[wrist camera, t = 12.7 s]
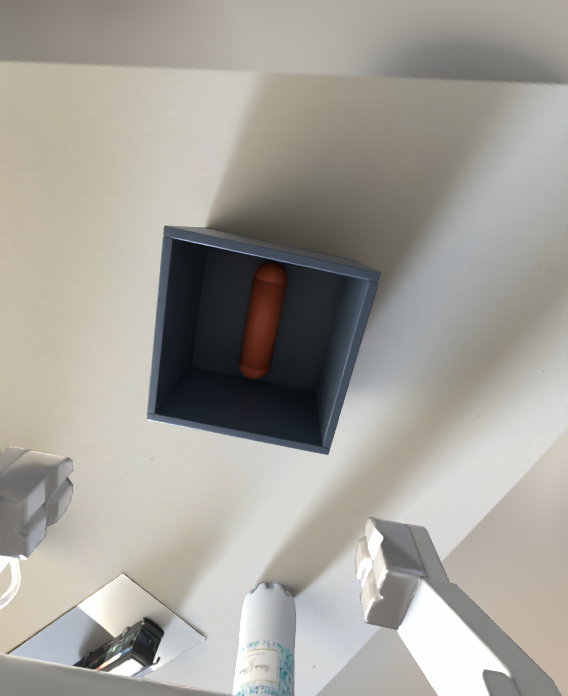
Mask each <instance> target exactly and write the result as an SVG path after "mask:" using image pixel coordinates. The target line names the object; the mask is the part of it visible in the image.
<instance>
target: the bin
mask: <svg viewBox="0 0 568 696" xmlns="http://www.w3.org/2000/svg"><path fill="white" fill-rule="evenodd" d="M163 235H164V237H163V244H162V255H161V266H160V277H159V287H158V298H157V309H156V320H155V331H154V342H153V353H152V363H151V374H150V385H149V396H148V407H147V418H146V419H147V420H153V421H158V422H163V423H168V424H173V425H178V426H183V427H188V428H193V429H198V430H203V431H208V432H214V433H219V434H224V435H229V436H234V437H239V438H244V439H249V440H254V441H259V442H264V443H270V444H275V445H280V446H285V447H290V448H295V449H300V450H305V451H310V452H315V453H320V454H325V455H328V454H329V451H330V447H331V444H332V440H333V437H334V434H335V430H336V427H337V423H338V420H339V416H340V413H341V409H342V406H343V403H344V399H345V396H346V392H347V389H348V385H349V382H350V379H351V375H352V372H353V368H354V365H355V361H356V358H357V354H358V351H359V348H360V344H361V341H362V337H363V334H364V330H365V327H366V324H367V320H368V317H369V313H370V310H371V306H372V303H373V299H374V296H375V293H376V289H377V286H378V281H379V279H380V275H381V272H379V271H377V270H374V269H372V268H370V267H368V266H366V265H364V264H362V263H360V262H358V261H356V260H351V259H347V258H342V257H337V256H333V255H328V254H324V253H319V252H314V251H310V250H305V249H301V248H296V247H291V246H287V245H282V244H277V243H273V242H268V241H264V240H259V239H254V238H250V237H245V236H241V235H236V234H231V233H227V232H222V231H218V230H213V229H208V228H201V227H180V226H164V233H163ZM266 262H274V263H277V264H279V265H281V266H282V267H283V268H284V270H285V271H286V274H287V279H288V280H287V286H286V291H285V296H284V301H283V305H282V310H281V315H280V320H279V325H278V329H277V334H276V339H275V344H274V349H273V353H272V358H271V363H270V367H269V370H268V372H267V373H266V375H265V376H263V377H262V378H259V379H249V378H247V377H245V376H244V375H243V374H242V373H241V371H240V369H239V357H240V351H241V345H242V340H243V334H244V329H245V323H246V317H247V312H248V306H249V300H250V295H251V289H252V283H253V278H254V274H255V271H256V269H257V268H258V267H259V266H260V265H262V264H264V263H266Z"/></svg>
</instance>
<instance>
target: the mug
mask: <svg viewBox="0 0 568 696" xmlns="http://www.w3.org/2000/svg"><path fill="white" fill-rule="evenodd" d="M9 561H10V562H11V569H12V584H11V586H10V588H9V590H8V591H7V592H6V593H5V594H4V595H3V596H1V597H0V609H1V608H2V607H4V606H5V605H6V604H7V603H8V602H9V601H10V600H11V599H12V598H13V597H14V595H15V594H16V592H17V590H18V588H19V585H20V583H21V573H20V567H19V560H18V558H13V557H7V556H0V572H1V571H2V569H3V568H4V567H5V566H6V564H7V563H8V562H9Z"/></svg>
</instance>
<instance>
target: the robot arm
mask: <svg viewBox="0 0 568 696" xmlns="http://www.w3.org/2000/svg"><path fill="white" fill-rule="evenodd" d="M72 472H73V460H71V459H70V458H67V457H62V456H58V455H53V454H49V453H44V452H40V451H35V450H29V449H24V448H20V447H16V446H13V447H9V448H7V449H5V450H4V451H3V452H1V453H0V556H7V557H13V558H19V559H27V558H28V557H29V556H30V554H31V553H32V552H33V551H34V550H35V548H36V547H37V546H38V545H39V543H40V542H41V541H42V540H43V539H44V537H45V536H46V534H45V528H46V527H48V526H50V525H52V524H54V523H56V522H58V520H59V519H60V518H61V517H62V515H63V514H64V513H65V511H66V509H67V507H68V505H69V503H70V501H71V497H72V493H73V484H72V482H71V481H70V480H69V478H68V476H69V475H70V474H71V473H72ZM364 530H365V534H366V536H365V537H364V538H362V539H361V540H360V541H359V544H358V547H357V550H356V558H355V569H356V576H357V580H358V581H359V582H360V583H361V585H362V586H363V589H362V591H361V594H360V600H361V605H362V611H363V617H364V622H365V623H368V624H372V625H377V626H381V627H386V628H391V629H395V630H398V633H399V635H400V636H401V638H402V639H403V641H404V643H405V644H406V646H407V647H408V649H409V650H410V652H411V654H412V655H413V657H414V658H415V660H416V661H417V663H418V664H419V666H420V667H421V669H422V671H423V672H424V674H425V675H426V677H427V678H428V680H429V681H430V683H431V684H432V686H433V688H434V689H435V691H436V692H437V694H438V695H439V696H561V693H560V692H559V690H558V688H557V686H556V685H555V683H554V681H553V680H552V679H551V678H550V677H549V676H548V675H547V674H546V673H545V672H544V671H543V670H542V669H541V668H540V667H539V666H538V665H537V664H536V663H535V662H534V661H533V660H532V659H531V658H530V657H529V656H528V655H527V654H526V653H525V652H524V651H523V650H522V649H521V648H520V647H519V646H518V645H517V644H516V643H515V642H514V641H513V640H512V639H511V638H510V637H509V636H508V635H507V634H506V633H505V632H504V631H503V630H502V629H501V628H500V627H499V626H498V625H497V624H496V623H494V621H493V620H492V619H491V618H490V617H489V616H487V614H486V613H485V612H484V611H483V610H482V609H480V607H478V605H477V604H476V603H475V602H474V601H472V600H471V599H470V598H469V597H468V596H467V595H466V594H465V593H464V592H463V591H462V590H461V589H460V588H459V587H458V586H457V585H456V584H454V583H450V581H449V579H448V577H447V575H446V572H445V570H444V568H443V566H442V563H441V561H440V559H439V556H438V554H437V552H436V550H435V547H434V545H433V543H432V540H431V538H430V536H429V534H428V531H427V530H426V529H425V528H424V527H422V526H416V525H411V524H403V523H398V522H393V521H388V520H382V519H377V518H372V517H370V518H369V519H368V520H367V522H366V524H365V527H364ZM0 696H239V695H233V694H228V693H222V692H216V691H211V690H205V689H199V688H194V687H188V686H183V685H177V684H171V683H166V682H160V681H154V680H149V679H143V678H138V677H132V676H126V675H121V674H115V673H109V672H104V671H98V670H93V669H87V668H81V667H76V666H70V665H64V664H59V663H53V662H48V661H42V660H36V659H31V658H25V657H20V656H14V655H8V654H3V653H0Z"/></svg>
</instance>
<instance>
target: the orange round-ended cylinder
mask: <svg viewBox="0 0 568 696" xmlns="http://www.w3.org/2000/svg"><path fill="white" fill-rule="evenodd" d="M287 280H288V279H287V274H286V271H285V270H284V268H283V267H282V266H281V265H279V264H277V263H274V262H266V263H264V264H262V265H260V266H259V267H258V268H257V269H256V271H255V274H254V278H253V283H252V289H251V295H250V300H249V306H248V312H247V317H246V323H245V329H244V334H243V340H242V345H241V351H240V357H239V369H240V371H241V373H242V374H243V375H244V376H245V377H247V378H249V379H259V378H262V377H263V376H265V375H266V373H267V372H268V370H269V367H270V363H271V358H272V353H273V349H274V344H275V339H276V334H277V329H278V325H279V320H280V315H281V310H282V305H283V301H284V296H285V291H286V286H287Z"/></svg>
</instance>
